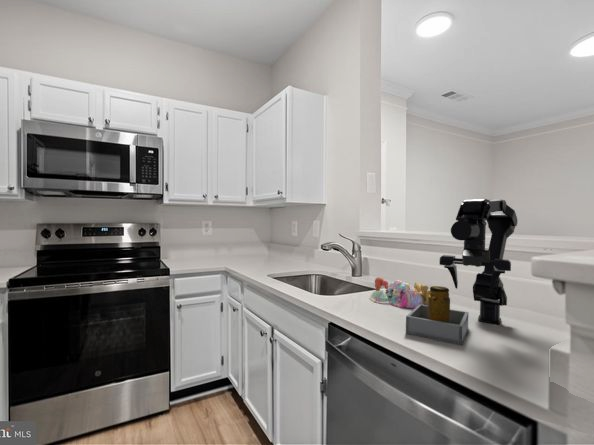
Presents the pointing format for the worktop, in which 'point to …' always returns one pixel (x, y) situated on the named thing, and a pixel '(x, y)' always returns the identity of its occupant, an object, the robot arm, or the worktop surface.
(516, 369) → the worktop surface
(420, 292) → the colourful coral reef
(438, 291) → the condiment
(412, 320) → the bin
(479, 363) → the worktop surface
